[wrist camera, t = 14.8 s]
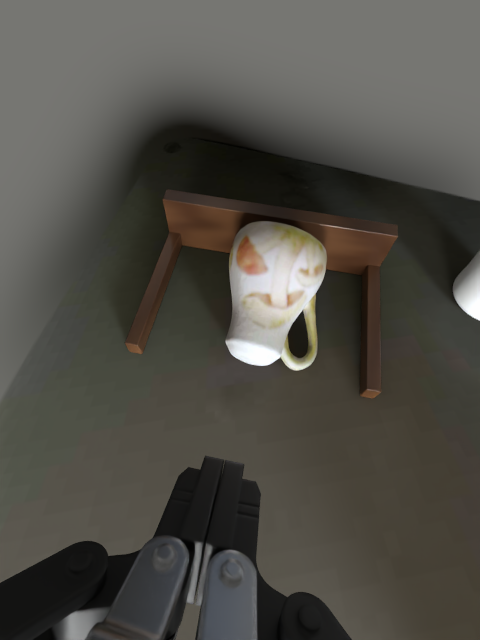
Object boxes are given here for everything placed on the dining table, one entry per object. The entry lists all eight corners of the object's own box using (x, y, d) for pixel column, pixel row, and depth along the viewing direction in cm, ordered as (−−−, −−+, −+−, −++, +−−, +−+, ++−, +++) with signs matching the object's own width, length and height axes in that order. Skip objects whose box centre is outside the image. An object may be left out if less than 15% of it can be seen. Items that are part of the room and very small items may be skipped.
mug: (200, 373, 25) (185, 238, 20) (250, 313, 33) (248, 204, 28) (301, 399, 22) (312, 252, 17) (329, 327, 30) (343, 210, 25)
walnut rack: (129, 351, 26) (109, 318, 21) (175, 234, 31) (166, 188, 27) (373, 398, 24) (405, 373, 20) (373, 266, 30) (397, 224, 26)
